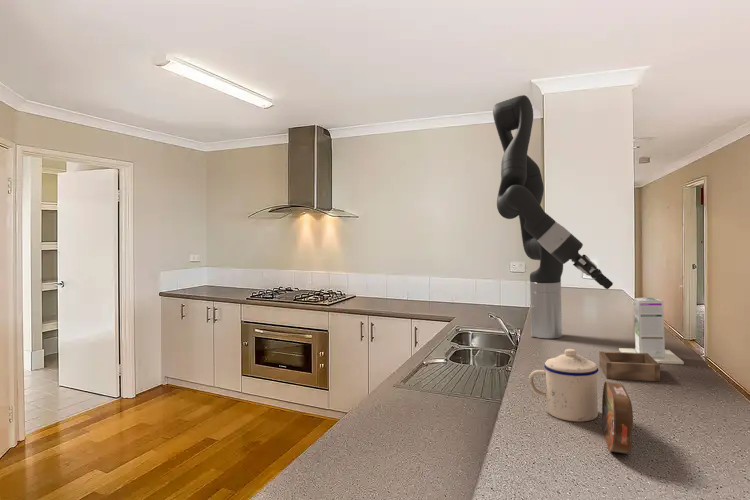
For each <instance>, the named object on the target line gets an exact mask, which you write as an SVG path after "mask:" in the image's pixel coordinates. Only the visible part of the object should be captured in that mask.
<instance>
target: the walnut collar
mask: <svg viewBox="0 0 750 500" xmlns="http://www.w3.org/2000/svg"><path fill="white" fill-rule="evenodd" d="M598 357H599V358H598V360H599V361H598V362H599V368H600V369H601V371H602V373H603V374H604V376H605V378H606V379H611V380H612V379H613V380H626V381H627V380H630V381H631V380H632V381H647V382H650V381H651V382H661V365H660V363H657V362H656V361H655V360H654V359H653V358H652V357H651V356H650V355H649V354H648V353H628V352H620V351H603V350H602V351H599V353H598Z"/></svg>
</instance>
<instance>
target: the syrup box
mask: <svg viewBox="0 0 750 500" xmlns="http://www.w3.org/2000/svg"><path fill="white" fill-rule="evenodd" d="M633 315H634V316H633V319H634V320H633V321H634V346H635V347H634V349H635V352H636V353H648V354H649V355H650V356H651V357H652V358H665V350H666V345H665V337H666V336H665V316H664V301H663V300H661V299H660V298H657V297H634V298H633Z"/></svg>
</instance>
